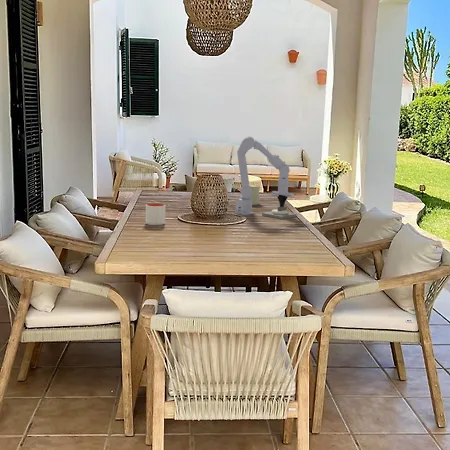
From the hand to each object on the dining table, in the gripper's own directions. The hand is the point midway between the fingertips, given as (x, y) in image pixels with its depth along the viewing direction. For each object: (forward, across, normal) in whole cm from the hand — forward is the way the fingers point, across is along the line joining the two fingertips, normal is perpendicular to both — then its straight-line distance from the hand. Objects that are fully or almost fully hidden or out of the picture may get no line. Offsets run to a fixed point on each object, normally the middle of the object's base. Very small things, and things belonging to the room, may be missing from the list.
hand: (281, 208), depth 351 cm
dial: (+2, -1, +4) cm, 5 cm away
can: (+4, +38, -18) cm, 42 cm away
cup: (+4, +23, +76) cm, 80 cm away
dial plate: (+4, -1, +4) cm, 6 cm away
